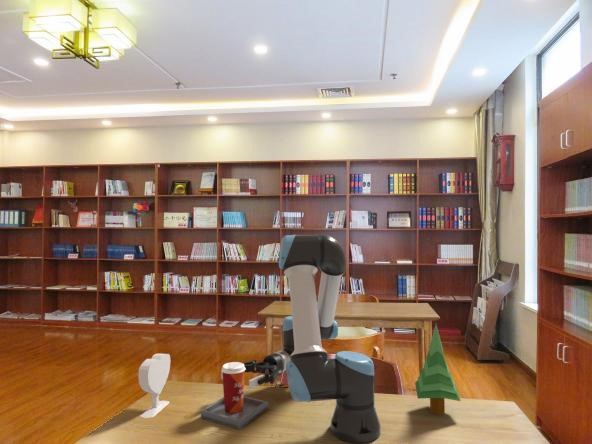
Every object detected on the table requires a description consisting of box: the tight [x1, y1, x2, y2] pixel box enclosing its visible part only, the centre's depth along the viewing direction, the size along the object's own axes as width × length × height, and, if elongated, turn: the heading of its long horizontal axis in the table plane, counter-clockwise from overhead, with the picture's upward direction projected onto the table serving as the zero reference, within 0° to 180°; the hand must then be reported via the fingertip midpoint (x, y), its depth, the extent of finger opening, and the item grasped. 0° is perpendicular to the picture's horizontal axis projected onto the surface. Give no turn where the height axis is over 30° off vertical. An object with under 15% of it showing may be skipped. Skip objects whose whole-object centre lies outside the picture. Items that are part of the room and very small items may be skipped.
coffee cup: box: [220, 361, 246, 414], centre depth 137 cm, size 8×8×15 cm
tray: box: [200, 395, 269, 430], centre depth 137 cm, size 16×16×2 cm
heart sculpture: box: [137, 353, 171, 419], centre depth 141 cm, size 16×5×18 cm, turn 170°
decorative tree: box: [414, 323, 462, 416], centre depth 137 cm, size 14×16×30 cm
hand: (235, 380), depth 137 cm, fingers open, 13 cm apart
